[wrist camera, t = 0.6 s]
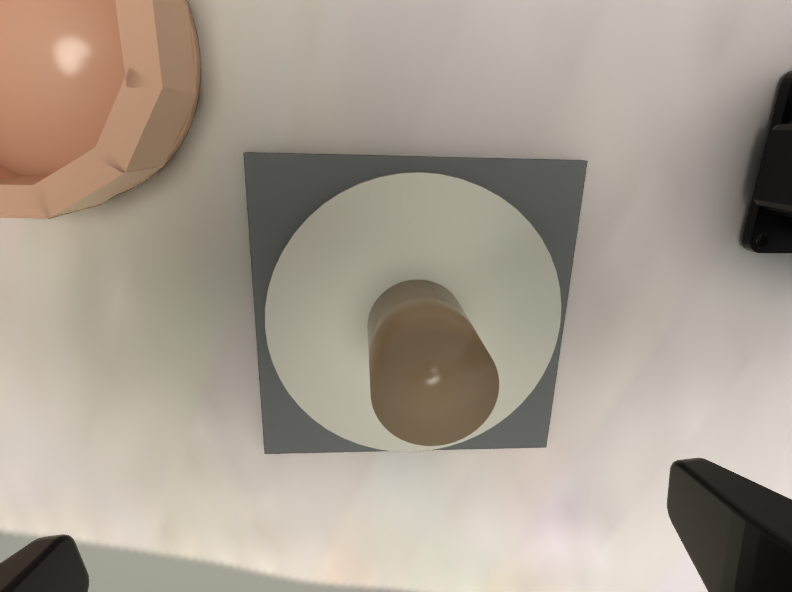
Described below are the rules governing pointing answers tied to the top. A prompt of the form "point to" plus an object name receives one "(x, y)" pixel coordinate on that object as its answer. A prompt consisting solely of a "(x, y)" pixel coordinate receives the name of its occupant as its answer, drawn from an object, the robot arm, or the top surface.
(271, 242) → the mat
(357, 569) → the top surface
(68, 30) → the bowl
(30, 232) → the top surface
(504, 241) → the lid
